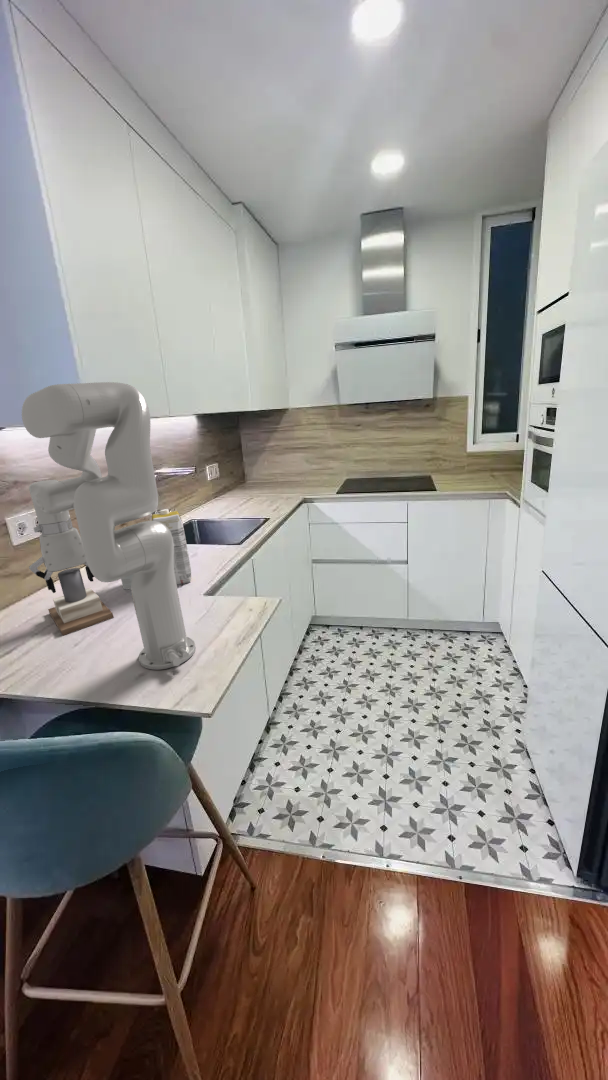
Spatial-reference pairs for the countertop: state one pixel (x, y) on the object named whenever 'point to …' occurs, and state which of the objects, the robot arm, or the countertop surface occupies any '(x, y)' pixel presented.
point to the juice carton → (177, 544)
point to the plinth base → (93, 619)
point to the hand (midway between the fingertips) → (72, 585)
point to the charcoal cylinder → (72, 585)
